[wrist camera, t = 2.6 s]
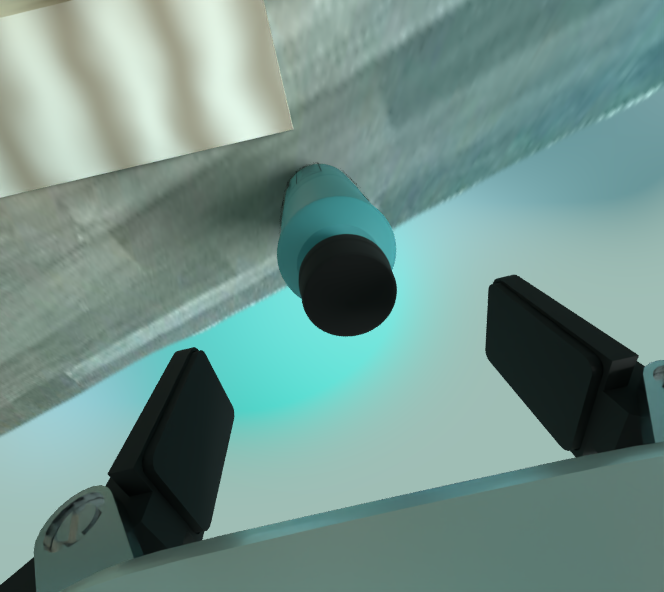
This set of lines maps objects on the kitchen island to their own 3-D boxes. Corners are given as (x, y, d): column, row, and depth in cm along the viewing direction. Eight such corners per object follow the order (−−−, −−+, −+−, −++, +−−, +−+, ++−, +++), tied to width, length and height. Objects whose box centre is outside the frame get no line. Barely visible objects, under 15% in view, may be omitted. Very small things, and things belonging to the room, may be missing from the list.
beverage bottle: (280, 161, 28) (247, 225, 10) (354, 157, 28) (442, 212, 11) (288, 232, 31) (274, 372, 13) (354, 227, 31) (423, 358, 14)
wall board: (246, -72, 21) (207, -216, 12) (293, 129, 26) (290, 131, 18) (-123, 19, 21) (-420, -54, 12) (4, 196, 27) (-137, 230, 18)
